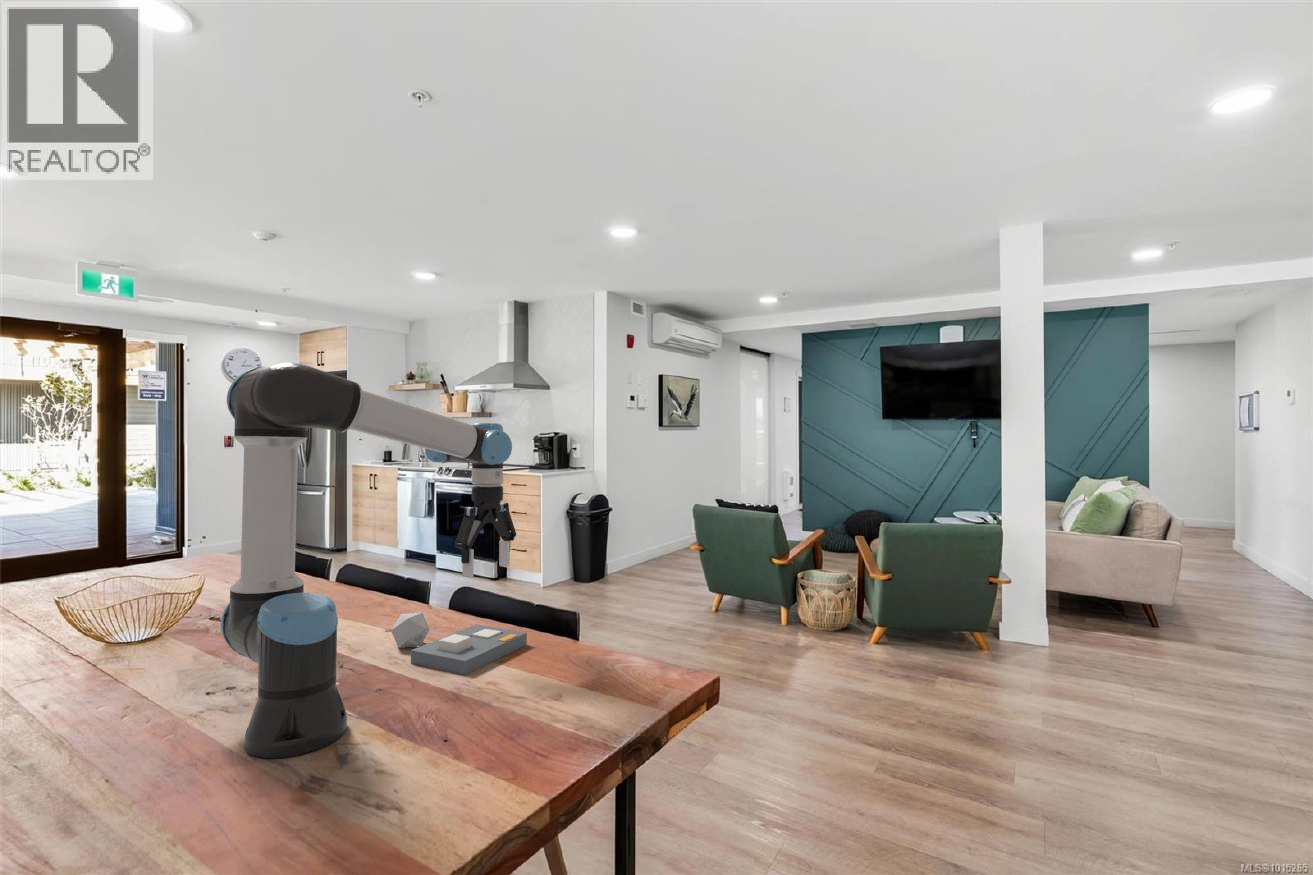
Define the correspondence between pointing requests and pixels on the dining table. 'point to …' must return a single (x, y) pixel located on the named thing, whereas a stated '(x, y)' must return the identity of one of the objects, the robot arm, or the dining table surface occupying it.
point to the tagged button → (486, 634)
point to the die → (410, 630)
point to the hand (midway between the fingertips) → (486, 571)
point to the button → (455, 643)
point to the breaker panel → (469, 650)
